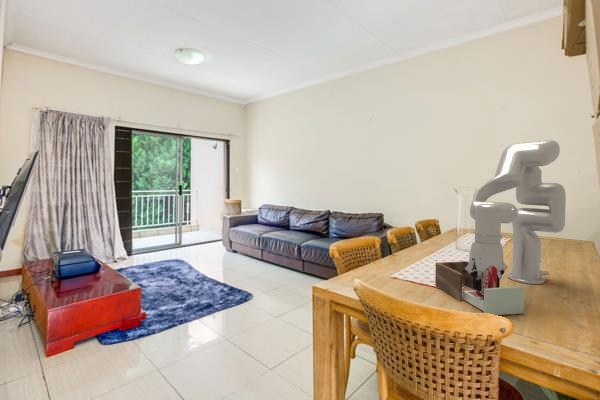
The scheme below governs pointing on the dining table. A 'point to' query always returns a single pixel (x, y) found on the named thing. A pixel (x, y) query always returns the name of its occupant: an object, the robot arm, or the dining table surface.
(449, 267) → the box
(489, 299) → the pale green drawer
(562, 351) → the dining table surface
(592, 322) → the dining table surface
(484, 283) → the beverage can
